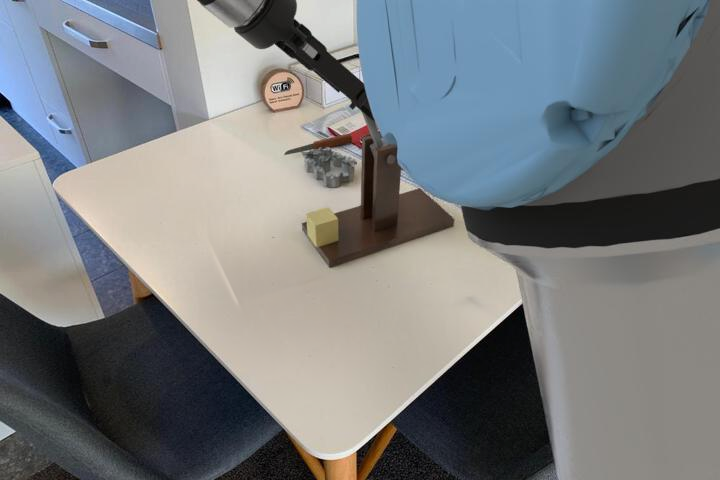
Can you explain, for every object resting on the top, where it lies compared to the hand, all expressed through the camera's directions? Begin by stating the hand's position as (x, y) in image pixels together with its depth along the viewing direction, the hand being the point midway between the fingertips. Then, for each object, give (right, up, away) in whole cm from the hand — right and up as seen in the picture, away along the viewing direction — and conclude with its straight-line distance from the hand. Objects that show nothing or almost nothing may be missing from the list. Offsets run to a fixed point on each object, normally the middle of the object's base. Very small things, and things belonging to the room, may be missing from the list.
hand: (364, 101), depth 75 cm
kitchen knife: (-10, -1, +37) cm, 39 cm away
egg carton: (-7, -7, +30) cm, 31 cm away
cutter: (0, -4, +3) cm, 4 cm away
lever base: (+2, -18, +16) cm, 24 cm away
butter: (-7, -19, +11) cm, 23 cm away
